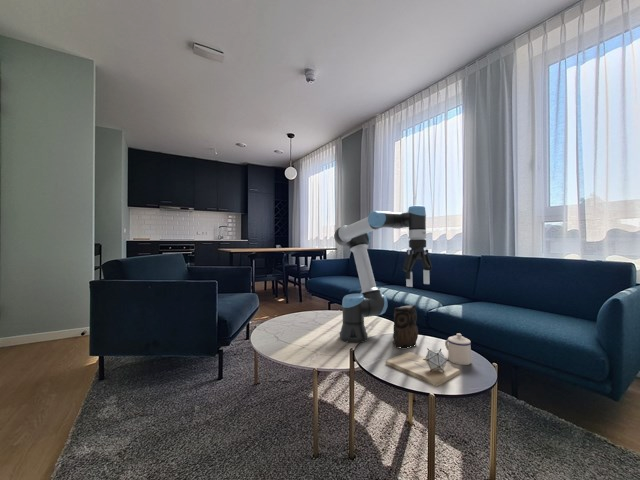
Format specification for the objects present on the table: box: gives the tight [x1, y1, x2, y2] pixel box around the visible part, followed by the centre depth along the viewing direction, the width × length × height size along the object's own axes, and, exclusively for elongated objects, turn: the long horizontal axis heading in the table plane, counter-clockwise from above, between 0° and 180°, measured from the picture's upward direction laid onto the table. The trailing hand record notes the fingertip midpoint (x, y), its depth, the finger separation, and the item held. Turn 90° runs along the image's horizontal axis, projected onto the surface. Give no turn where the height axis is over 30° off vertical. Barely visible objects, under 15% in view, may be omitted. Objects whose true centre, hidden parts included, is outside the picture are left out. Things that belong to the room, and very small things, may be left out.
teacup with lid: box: [444, 332, 472, 366], centre depth 117 cm, size 12×9×12 cm
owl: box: [392, 304, 419, 349], centre depth 135 cm, size 13×13×20 cm
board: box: [385, 351, 461, 387], centre depth 109 cm, size 23×16×2 cm
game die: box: [423, 348, 450, 373], centre depth 104 cm, size 9×8×10 cm
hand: (418, 285), depth 124 cm, fingers open, 13 cm apart
